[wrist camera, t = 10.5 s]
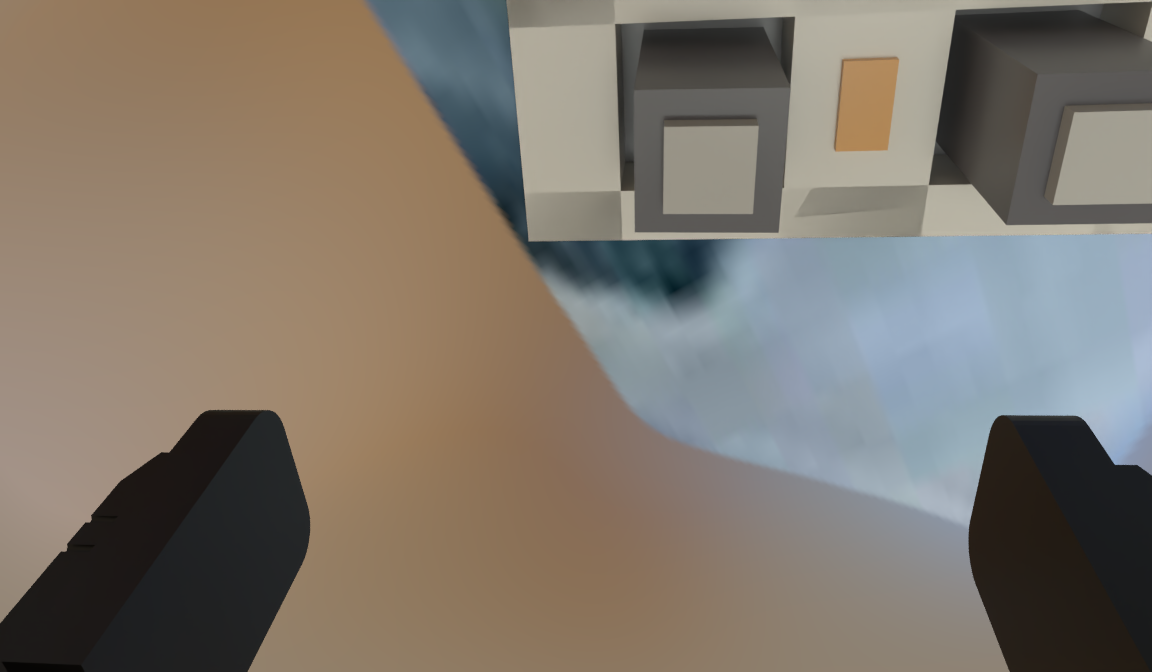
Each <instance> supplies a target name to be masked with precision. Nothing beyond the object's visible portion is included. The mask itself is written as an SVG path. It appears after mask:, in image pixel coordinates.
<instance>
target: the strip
mask: <svg viewBox="0 0 1152 672" xmlns="http://www.w3.org/2000/svg"><path fill="white" fill-rule="evenodd" d="M1066 10H1080V11H1083V12H1085V13H1087V14H1090V15H1092V16H1094V17H1096V18H1099V19H1101V20H1103V21H1106V22H1108V23H1110V24H1112V25H1115V26H1117V27H1119V28H1122V29H1124V30H1126V31H1129V32H1131V33H1133V34H1135V35H1138V36H1140V37H1142V38H1145V39H1147V40H1149V41H1151V42H1152V0H507V11H508V21H509V32H510V43H511V54H512V64H513V75H514V86H515V97H516V107H517V118H518V129H519V140H520V151H521V161H522V172H523V183H524V194H525V204H526V215H527V226H528V237H529V241H593V240H674V239H754V238H835V237H916V236H996V235H1077V234H1152V223H1137V224H1064V225H1006V224H1005V223H1004V222H1003V221H1002V219H1001V218H1000V217H999V216H998V215H997V214H996V212H995V211H994V210H993V209H992V208H991V206H990V205H989V204H988V203H987V202H986V201H985V199H984V198H983V197H982V196H981V195H980V193H979V192H978V191H977V190H976V189H975V187H974V186H973V185H972V184H971V183H970V182H969V180H968V179H967V178H966V177H965V176H964V174H963V173H962V172H961V171H960V170H959V169H958V167H957V166H956V165H955V164H954V163H953V161H952V160H951V159H950V158H949V157H948V155H947V154H946V153H945V152H944V151H943V150H942V148H941V147H940V146H939V145H938V144H937V142H936V134H937V128H938V122H939V115H940V109H941V102H942V96H943V89H944V83H945V76H946V70H947V64H948V57H949V51H950V44H951V38H952V31H953V25H954V18H955V15H969V14H993V13H1017V12H1042V11H1066ZM742 27H764V29H765V31H766V34H767V36H768V38H769V40H770V42H771V45H772V47H773V49H774V51H775V54H776V56H777V58H778V60H779V62H780V65H781V67H782V69H783V71H784V74H785V76H786V78H787V80H788V82H789V85H790V87H791V92H790V104H789V116H788V128H787V139H786V151H785V163H784V175H783V187H782V199H781V211H780V223H779V233H676V232H635V199H634V85H635V79H636V73H637V67H638V62H639V56H640V50H641V44H642V38H643V32H644V30H656V29H699V28H742Z"/></svg>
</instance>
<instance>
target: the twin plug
mask: <svg viewBox="0 0 1152 672" xmlns="http://www.w3.org/2000/svg"><path fill="white" fill-rule="evenodd" d="M936 142H937V144H938V145H939V146H940V147H941V148H942V150H943V151H944V152H945V153H946V154H947V155H948V157H949V158H950V159H951V160H952V161H953V163H954V164H955V165H956V166H957V167H958V169H959V170H960V171H961V172H962V173H963V174H964V176H965V177H966V178H967V179H968V180H969V182H970V183H971V184H972V185H973V186H974V187H975V189H976V190H977V191H978V192H979V193H980V195H981V196H982V197H983V198H984V199H985V201H986V202H987V203H988V204H989V205H990V206H991V208H992V209H993V210H994V211H995V212H996V214H997V215H998V216H999V217H1000V218H1001V219H1002V221H1003V222H1004V223H1005V224H1006V225H1064V224H1137V223H1152V42H1151V41H1149V40H1147V39H1145V38H1142V37H1140V36H1138V35H1135V34H1133V33H1131V32H1129V31H1126V30H1124V29H1122V28H1119V27H1117V26H1115V25H1112V24H1110V23H1108V22H1106V21H1103V20H1101V19H1099V18H1096V17H1094V16H1092V15H1090V14H1087V13H1085V12H1083V11H1080V10H1066V11H1042V12H1017V13H993V14H969V15H955V18H954V25H953V31H952V38H951V44H950V51H949V57H948V64H947V70H946V76H945V83H944V89H943V96H942V102H941V109H940V115H939V122H938V128H937V134H936Z"/></svg>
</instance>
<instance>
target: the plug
mask: <svg viewBox="0 0 1152 672" xmlns="http://www.w3.org/2000/svg"><path fill="white" fill-rule="evenodd" d="M790 92H791V87H790V85H789V82H788V80H787V78H786V76H785V74H784V71H783V69H782V67H781V65H780V62H779V60H778V58H777V56H776V54H775V51H774V49H773V47H772V45H771V42H770V40H769V38H768V36H767V34H766V31H765V29H764V27H742V28H699V29H656V30H644V32H643V38H642V44H641V50H640V56H639V62H638V67H637V73H636V79H635V85H634V199H635V232H676V233H779V223H780V211H781V199H782V187H783V175H784V163H785V151H786V139H787V128H788V116H789V104H790Z"/></svg>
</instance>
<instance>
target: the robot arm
mask: <svg viewBox="0 0 1152 672" xmlns="http://www.w3.org/2000/svg"><path fill="white" fill-rule="evenodd" d="M91 516H92V520H91V522H90V523H85V524H84V525H83V526H82V527H81V528H80V530H79V531H78V532H77V533H76V534H75V536H74V537H73V538H72V539H71V540H70V541H69V543H68V544H67V546H68V548H67V551H66V552H60V553H59V554H58V556H57V557H56V558H55V559H54V560H53V562H52V563H51V564H50V565H49V566H48V567H47V569H46V570H45V571H44V572H43V573H42V575H41V576H40V577H39V578H38V579H37V581H36V582H35V583H34V584H33V585H32V586H31V588H30V589H29V590H28V591H27V592H26V594H25V595H24V596H23V597H22V598H21V599H20V601H19V602H18V603H17V604H16V605H15V607H14V608H13V609H12V610H11V611H10V612H9V614H8V615H7V616H6V617H5V618H4V620H3V621H2V622H1V623H0V672H248V670H249V668H250V666H251V664H252V662H253V660H254V658H255V656H256V654H257V652H258V650H259V648H260V646H261V644H262V642H263V640H264V638H265V636H266V634H267V632H268V630H269V628H270V626H271V624H272V622H273V620H274V618H275V616H276V614H277V612H278V610H279V608H280V606H281V604H282V602H283V601H284V599H285V597H286V595H287V593H288V590H289V589H290V587H291V585H292V583H293V581H294V579H295V577H296V575H297V573H298V571H299V569H300V567H301V565H302V563H303V560H304V558H305V555H306V552H307V548H308V543H309V536H310V516H309V509H308V506H307V502H306V499H305V495H304V492H303V489H302V486H301V482H300V479H299V475H298V472H297V469H296V466H295V462H294V459H293V456H292V452H291V449H290V446H289V443H288V439H287V436H286V432H285V429H284V426H283V423H282V421H281V420H280V418H279V416H278V415H277V414H276V413H275V412H273V411H270V410H209V411H205V412H204V413H202V414H201V415H200V416H199V417H198V418H197V419H196V420H195V421H194V423H193V424H192V425H191V426H190V428H189V429H188V430H187V432H186V433H185V434H184V435H183V436H182V438H181V439H180V440H179V441H178V443H177V444H176V445H175V446H174V448H173V449H172V450H171V451H170V453H163V452H161V453H160V454H159V455H157V456H156V457H154V458H153V459H151V460H150V461H148V462H147V463H146V464H144V465H143V466H142V467H140V468H139V469H137V470H136V471H134V472H133V473H132V474H130V475H129V476H127V477H126V478H124V479H123V480H121V481H120V482H119V483H118V485H117V486H116V487H115V488H114V489H113V490H112V492H111V493H110V494H109V495H108V496H107V498H106V499H105V500H104V501H103V503H102V504H101V505H100V506H99V507H98V508H97V509H96V511H95V512H94V513H93V514H92V515H91ZM969 556H970V563H971V569H972V573H973V577H974V581H975V584H976V586H977V589H978V591H979V594H980V597H981V599H982V602H983V604H984V607H985V609H986V612H987V614H988V617H989V620H990V622H991V625H992V627H993V630H994V633H995V635H996V638H997V640H998V643H999V645H1000V648H1001V650H1002V653H1003V656H1004V658H1005V661H1006V664H1007V666H1008V669H1009V671H1010V672H1152V475H1150V474H1149V473H1147V472H1146V471H1145V470H1143V469H1142V468H1141V467H1139V466H1138V465H1115V464H1114V463H1113V462H1112V460H1111V459H1110V457H1109V456H1108V454H1107V453H1106V451H1105V450H1104V448H1103V447H1102V445H1101V444H1100V442H1099V441H1098V439H1097V438H1096V436H1095V435H1094V433H1093V432H1092V430H1091V429H1090V427H1089V426H1088V425H1087V423H1086V422H1085V421H1084V420H1083V419H1082V418H1080V417H1078V416H1016V415H1001V416H999V417H997V418H996V419H995V421H994V423H993V425H992V427H991V430H990V434H989V438H988V443H987V447H986V452H985V456H984V461H983V465H982V470H981V474H980V479H979V483H978V488H977V492H976V497H975V501H974V506H973V511H972V515H971V520H970V525H969Z"/></svg>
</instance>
